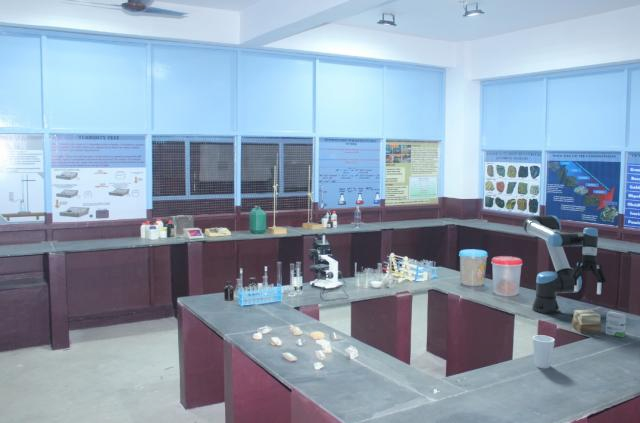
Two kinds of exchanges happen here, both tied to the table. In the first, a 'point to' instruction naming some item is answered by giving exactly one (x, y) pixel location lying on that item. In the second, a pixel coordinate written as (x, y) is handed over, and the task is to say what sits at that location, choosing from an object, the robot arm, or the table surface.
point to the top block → (587, 317)
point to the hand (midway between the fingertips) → (587, 292)
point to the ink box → (615, 324)
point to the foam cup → (543, 350)
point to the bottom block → (586, 327)
